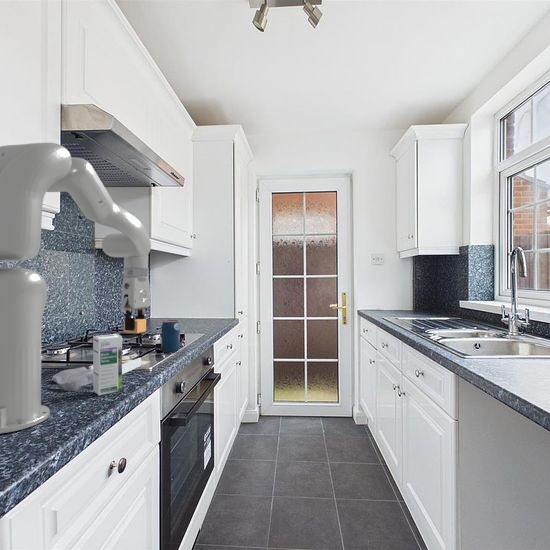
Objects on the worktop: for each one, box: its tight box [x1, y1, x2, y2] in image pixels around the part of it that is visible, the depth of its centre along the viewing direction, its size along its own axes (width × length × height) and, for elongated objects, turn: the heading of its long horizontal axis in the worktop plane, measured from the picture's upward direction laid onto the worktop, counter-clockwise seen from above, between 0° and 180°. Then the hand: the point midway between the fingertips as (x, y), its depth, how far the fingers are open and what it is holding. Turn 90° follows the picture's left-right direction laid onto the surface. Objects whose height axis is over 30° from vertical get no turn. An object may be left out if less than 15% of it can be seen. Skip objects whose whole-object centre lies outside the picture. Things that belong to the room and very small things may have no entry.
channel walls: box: [88, 357, 142, 375], centre depth 108 cm, size 13×9×4 cm, turn 168°
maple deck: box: [122, 359, 152, 369], centre depth 111 cm, size 19×9×1 cm, turn 168°
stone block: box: [52, 366, 93, 392], centre depth 98 cm, size 12×5×10 cm
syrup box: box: [92, 333, 123, 397], centre depth 92 cm, size 6×6×14 cm
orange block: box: [123, 318, 147, 334], centre depth 117 cm, size 5×5×4 cm
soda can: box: [160, 319, 181, 354], centre depth 139 cm, size 7×7×12 cm
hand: (135, 328), depth 117 cm, fingers closed on orange block, 4 cm apart
